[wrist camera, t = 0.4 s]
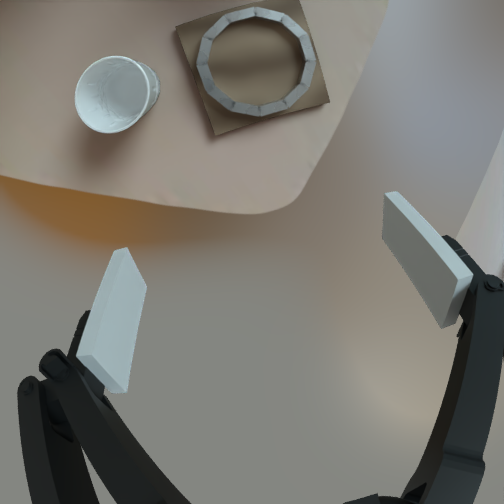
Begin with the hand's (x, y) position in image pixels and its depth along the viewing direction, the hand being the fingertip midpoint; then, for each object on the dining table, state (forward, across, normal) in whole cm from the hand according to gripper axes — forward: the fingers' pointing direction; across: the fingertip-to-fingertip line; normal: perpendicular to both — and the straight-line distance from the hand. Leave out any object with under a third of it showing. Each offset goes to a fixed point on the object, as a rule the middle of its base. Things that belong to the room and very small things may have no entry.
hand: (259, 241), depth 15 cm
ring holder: (+28, +4, +7) cm, 29 cm away
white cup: (+27, -11, +8) cm, 31 cm away
